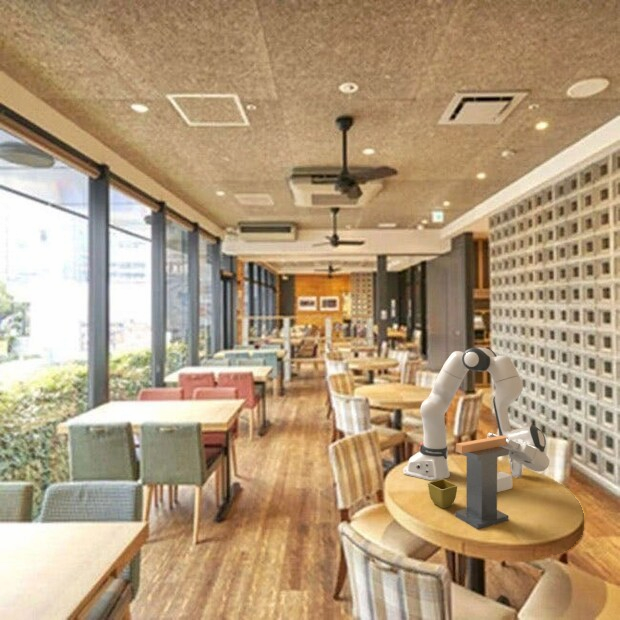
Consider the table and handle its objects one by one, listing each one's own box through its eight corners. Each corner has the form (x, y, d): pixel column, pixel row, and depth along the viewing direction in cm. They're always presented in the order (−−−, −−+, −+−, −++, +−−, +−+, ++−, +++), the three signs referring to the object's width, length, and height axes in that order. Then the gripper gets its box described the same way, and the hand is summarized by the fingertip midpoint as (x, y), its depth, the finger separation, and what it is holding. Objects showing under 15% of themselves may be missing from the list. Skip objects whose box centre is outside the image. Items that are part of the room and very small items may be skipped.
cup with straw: (507, 471, 236) (507, 431, 235) (526, 474, 232) (527, 433, 232) (507, 477, 228) (507, 436, 227) (527, 480, 224) (528, 438, 224)
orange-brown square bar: (461, 453, 179) (461, 445, 179) (456, 451, 182) (456, 443, 181) (507, 444, 189) (507, 437, 189) (501, 442, 192) (501, 435, 192)
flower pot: (441, 511, 192) (441, 489, 192) (427, 503, 200) (427, 482, 200) (457, 507, 196) (457, 485, 196) (442, 499, 204) (442, 478, 204)
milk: (502, 483, 220) (466, 492, 211) (502, 470, 220) (466, 479, 210) (512, 488, 215) (476, 497, 205) (512, 475, 215) (476, 484, 205)
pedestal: (477, 529, 177) (477, 455, 176) (455, 516, 188) (455, 446, 187) (508, 520, 184) (508, 449, 183) (485, 508, 195) (485, 441, 194)
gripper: (502, 436, 204) (481, 424, 199) (543, 450, 186) (521, 437, 180) (496, 450, 203) (475, 438, 198) (537, 465, 184) (515, 452, 179)
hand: (498, 437), depth 189 cm, fingers open, 8 cm apart
